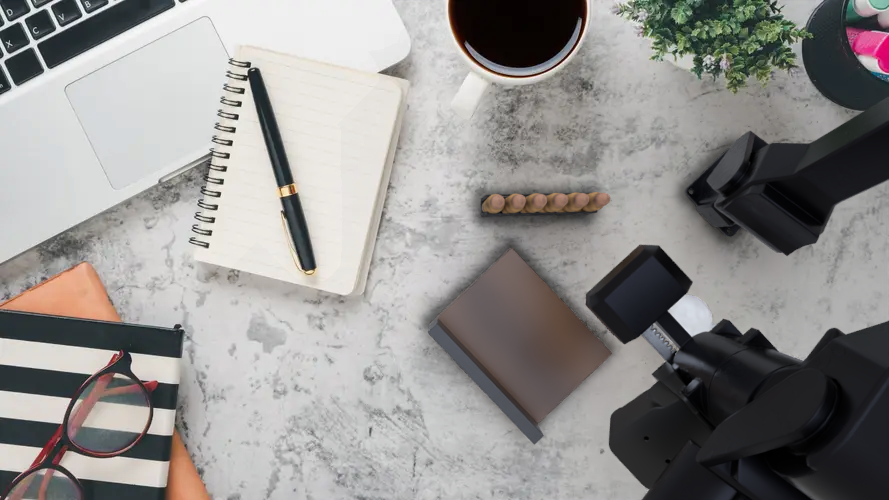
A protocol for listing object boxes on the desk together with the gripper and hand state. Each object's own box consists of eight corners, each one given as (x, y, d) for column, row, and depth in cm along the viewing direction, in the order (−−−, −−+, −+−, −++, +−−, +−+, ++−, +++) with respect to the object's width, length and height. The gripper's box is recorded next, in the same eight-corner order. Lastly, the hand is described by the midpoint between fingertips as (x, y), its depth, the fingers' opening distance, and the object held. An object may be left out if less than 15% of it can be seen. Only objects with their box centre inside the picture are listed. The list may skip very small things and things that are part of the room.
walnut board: (509, 247, 65) (516, 248, 59) (606, 349, 65) (623, 361, 59) (429, 323, 65) (427, 332, 59) (526, 424, 65) (534, 444, 59)
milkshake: (682, 339, 65) (724, 357, 55) (629, 328, 65) (662, 344, 55) (691, 294, 65) (735, 304, 55) (639, 283, 65) (673, 291, 55)
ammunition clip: (588, 196, 65) (619, 186, 53) (588, 214, 65) (619, 209, 53) (480, 198, 65) (487, 188, 53) (481, 216, 65) (488, 211, 53)
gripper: (543, 373, 38) (517, 331, 53) (763, 609, 38) (673, 499, 53) (687, 240, 37) (619, 237, 53) (909, 480, 37) (775, 406, 53)
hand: (669, 348), depth 53 cm, fingers open, 9 cm apart
